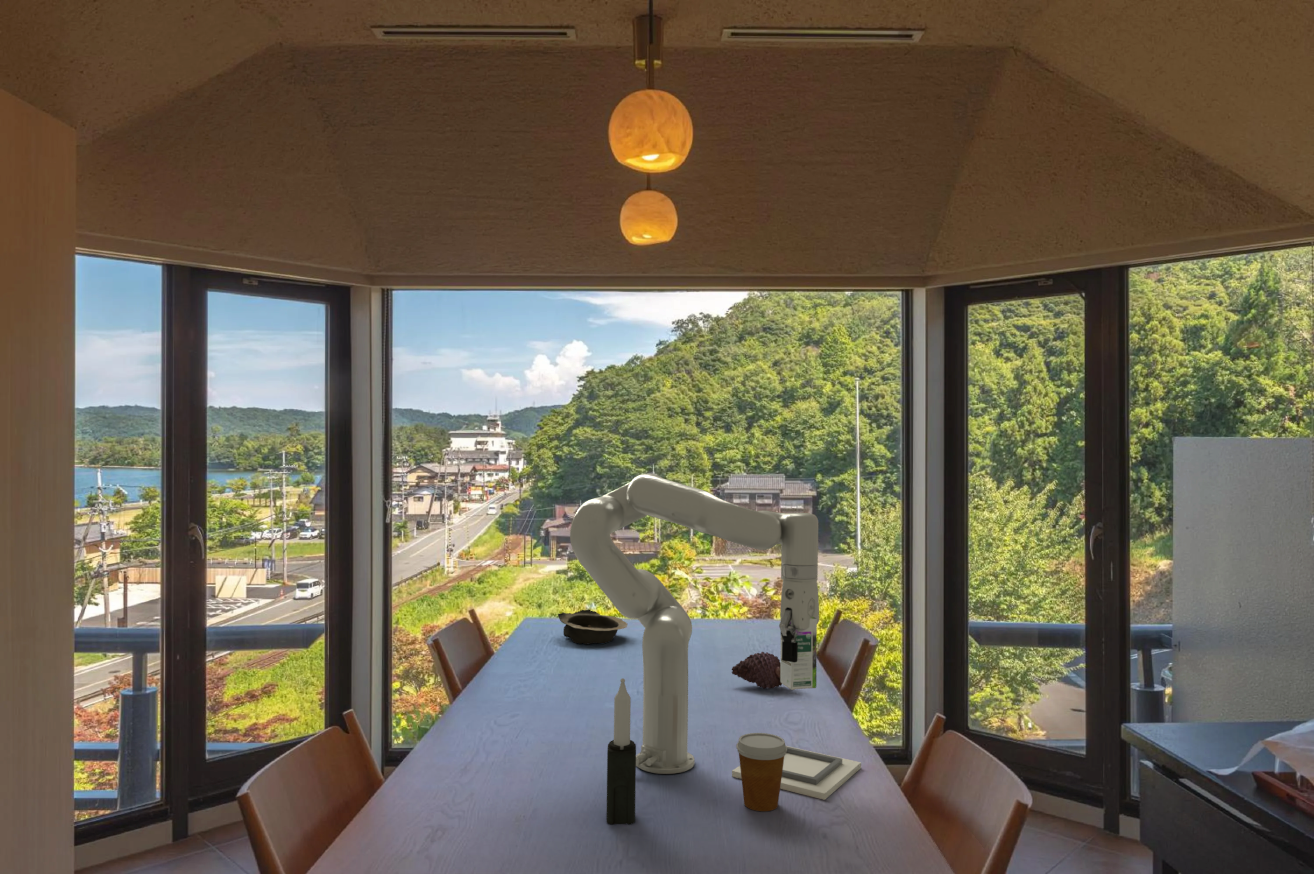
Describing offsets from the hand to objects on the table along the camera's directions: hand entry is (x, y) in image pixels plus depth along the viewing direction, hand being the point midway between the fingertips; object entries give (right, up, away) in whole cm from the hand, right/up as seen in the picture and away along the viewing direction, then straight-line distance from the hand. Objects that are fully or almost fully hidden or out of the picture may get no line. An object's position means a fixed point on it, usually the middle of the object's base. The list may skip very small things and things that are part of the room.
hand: (798, 656), depth 175 cm
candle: (-36, -23, -24) cm, 49 cm away
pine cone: (+1, -25, +62) cm, 67 cm away
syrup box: (0, -6, 0) cm, 6 cm away
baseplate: (0, -24, -1) cm, 24 cm away
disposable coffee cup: (-10, -24, -17) cm, 31 cm away
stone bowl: (-52, -26, +121) cm, 134 cm away
